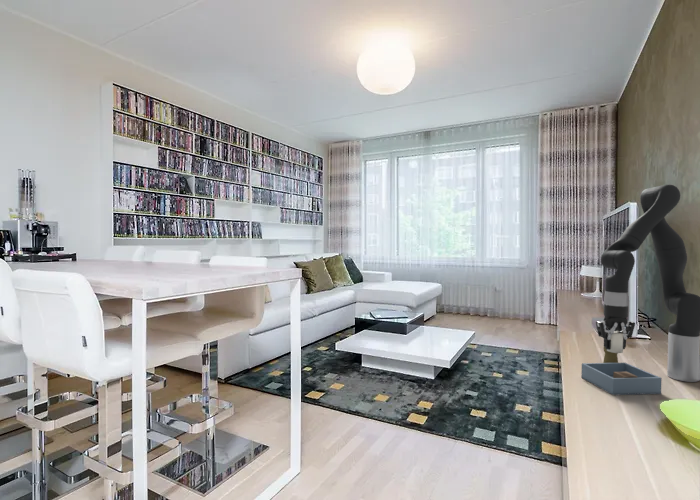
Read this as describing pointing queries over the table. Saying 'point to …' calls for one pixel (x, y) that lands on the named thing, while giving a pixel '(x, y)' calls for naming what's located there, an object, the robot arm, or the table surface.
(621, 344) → the ceramic canister
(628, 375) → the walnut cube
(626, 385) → the tote
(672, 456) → the table surface
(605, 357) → the cork
